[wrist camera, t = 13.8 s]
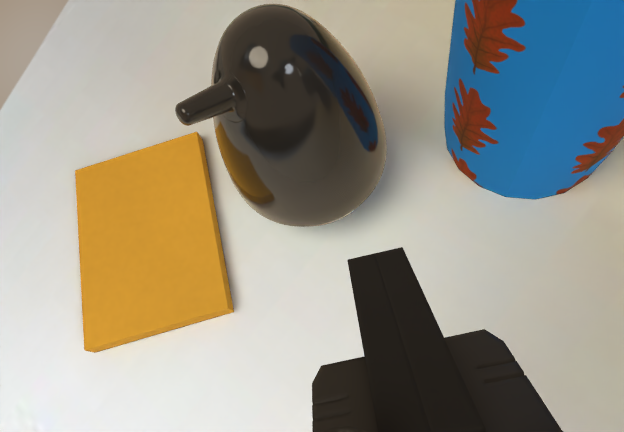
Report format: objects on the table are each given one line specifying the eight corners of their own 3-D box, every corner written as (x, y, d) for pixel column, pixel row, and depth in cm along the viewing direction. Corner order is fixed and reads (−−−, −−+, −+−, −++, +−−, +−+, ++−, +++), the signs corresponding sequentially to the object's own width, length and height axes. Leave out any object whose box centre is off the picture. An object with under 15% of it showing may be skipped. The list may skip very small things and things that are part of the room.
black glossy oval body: (219, 183, 37) (105, 41, 23) (321, 94, 38) (272, -91, 24) (309, 278, 33) (237, 175, 19) (419, 175, 34) (427, 9, 20)
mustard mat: (234, 311, 33) (228, 308, 32) (94, 352, 34) (84, 350, 32) (202, 139, 39) (196, 131, 38) (84, 177, 39) (74, 170, 38)
